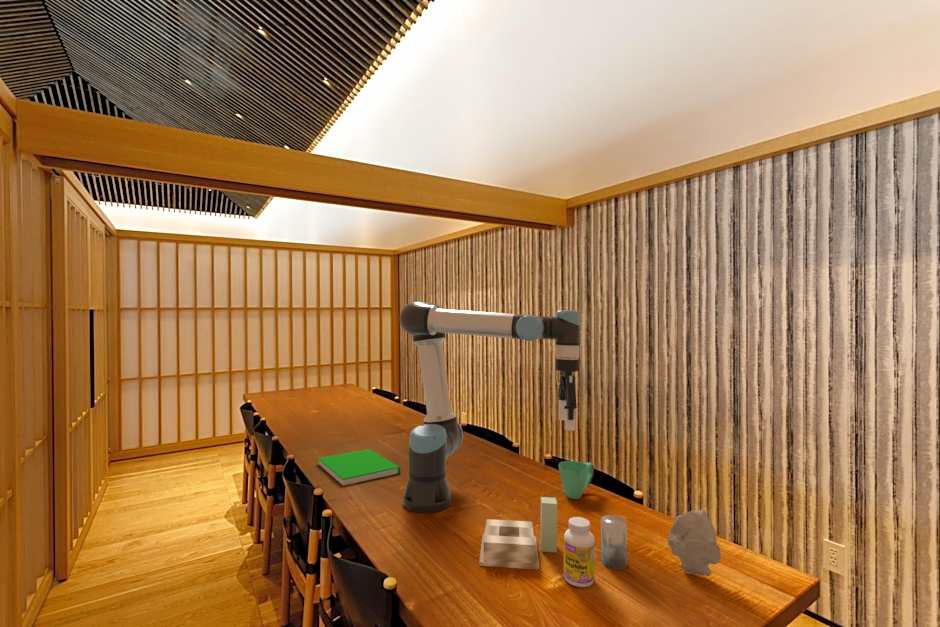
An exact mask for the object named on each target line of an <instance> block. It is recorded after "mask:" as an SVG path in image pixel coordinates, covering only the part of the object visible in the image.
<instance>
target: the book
mask: <svg viewBox="0 0 940 627" xmlns="http://www.w3.org/2000/svg"><path fill="white" fill-rule="evenodd" d="M317 459H318V465H319V466H320V467H322V469H323V470H325V471H326V472H327V473H328V474H329V475H330V476H331V477H332V478H334V479H335V480H336V481H337V482H338V483H339V484H340V485H341V486H348V485H352V484H357V483H361V482H366V481H370V480H375V479H378V478H379V479H380V478H383V477H389V476H393V475H398V474H399V473H400V474H401V472H402V470H401V467H400V466H399V465H397V464H395V463H393V462H391V461H390V460H388V459H387V458H385V457H383V456H381V455H380V454H378V453H376V452H375V451H373V450H371V448H369V449H368V448H367V449H362V450H355V451H350V452H346V453H338V454H333V455H328V456H324V457H318V458H317ZM400 474H399V475H400Z"/></svg>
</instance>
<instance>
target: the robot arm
mask: <svg viewBox="0 0 940 627" xmlns="http://www.w3.org/2000/svg"><path fill="white" fill-rule="evenodd" d="M580 315H581V314H580V313H579V311H577V310H557V311H556V314H555V315H554V316H544V315H543V316H539V315H534V314H520V313H519V314H516V313H507V312H506V313H505V312H491V311H488V312H487V311H478V310H477V311H475V310H460V309H447V308H442V307H441V306H439V305H438V304H436V303H433V302H424V301H411V302H409V303H407V304H406V305H405V306H403V308H402V310H401V311H400V313H399V323H400V324H399V325H400V326H401V328H402V330H403V331H404V333H407V334H408V335H410V336H412V340H413V341H412V342H413V344H414V345H415V346H417V347H418V354H419V362H420V370H421V377H422V385H423V386H422V387H423V394H424V400H425V408H426V416H425V417H424V419H423V425H418V426H416V427H414V428H413V429H412V430H411V432H410V434H409V440H408V445H409V446H408V454H409V455H408V459H409V460H408V479H407V483H406V487H405V490H404V493H403V496H402V505H403V507H404V508H405V509H406V510H409V511H411V512H414V513H420V514H421V513H422V514H423V513H424V514H428V513H431V514H432V513H437V512H440V511H443V510H446V509H447V508H448V507H450V505H451V504H452V494H451V490H450V487H449V484H448V481H447V476H446V475H447V472H446V471H447V460H448V458H449V457H451V456H452V455H453V454H454V453H456V452H457V451H458V450H459V448H460V447H461V446H462V443H463V439H464V433H463V432H464V431H463V429H462V428H463V427H462V426H461V425H460V423H458V418H457V414H456V413H454V412H453V411H452V407H451V399H450V391H449V390H450V389H449V384H448V376H447V369H446V361H445V354H444V347H443V343H444V341H445V340H446V339H447V338H446V334H454V335H464V336H465V335H466V336H476V337H488V338H490V337H491V338H503V339H515V340H521V341H522V340H523V341H527V342H533V341H536V340H555V352H554V353H555V354H554V355H555V357H556V359H555V364H554V366H555V368H554V369H555V371H559V383H558V394H557V396H558V400H559V401H558V420H559V421H565V428H564V429H565V431H572V432H573V431H575V429H576V427H575V426H576V409H577V407H578V406H577V396H576V395H577V394H576V377H575V375H573V373H575V372H576V373H577V372H579V371H580V360H579V358H580V352H582V348H580V340H581V339H580V338H581V336H580V335H581V316H580Z"/></svg>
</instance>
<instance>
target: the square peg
mask: <svg viewBox="0 0 940 627" xmlns="http://www.w3.org/2000/svg"><path fill="white" fill-rule="evenodd" d="M557 501H558V500H557V499H556V497H548V496H540V534H539V535H540V539H539V540H540V541H539V542H540V543H539V544H540V552H544V553H545V552H547V553H557V552H558V502H557Z"/></svg>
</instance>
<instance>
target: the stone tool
mask: <svg viewBox="0 0 940 627" xmlns="http://www.w3.org/2000/svg"><path fill="white" fill-rule="evenodd" d="M667 542H668V544H667V545H668V546H669V548H670V549H671V552H672V554H673V555H674V556H678V558H679V559H680V562H681V564H680V568H681V569H682V570H683V571H684V572H685V573H689V574H691V576H694V575H696V576H697V575H699V576H701V577H703V576H705V577H709V576H711V575H712V570H711V569H710V567H709V564H711V565H717V564H718V563H719V562H720V560H721V558H722V555H721V553H722V552H721V547H720V545H719V544H717V543H718V542H717V531H716V529H715V527H714V525H713V524H712V522H711V520H710V518H709V516H708V513H707V512H706V510H705V509H700V510H699V509H698V510H695V509H692V510H691V511H688V512H687V513H684V514H681V515H677V516H676V517H675V519H674V521H673V523H672V526H671V527H670V530H669V534H668V536H667Z"/></svg>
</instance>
